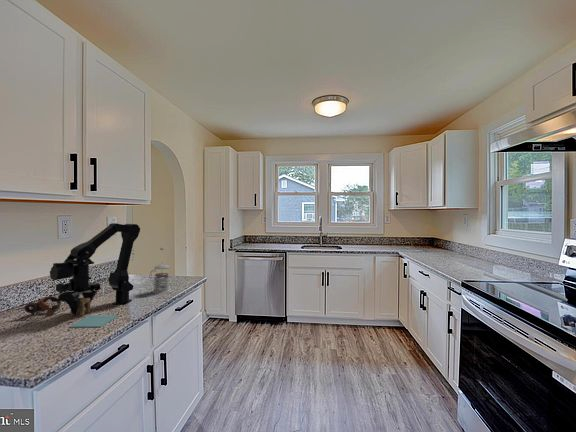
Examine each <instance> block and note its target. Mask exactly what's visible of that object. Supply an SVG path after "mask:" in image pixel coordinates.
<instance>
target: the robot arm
mask: <svg viewBox="0 0 576 432" xmlns="http://www.w3.org/2000/svg"><path fill="white" fill-rule="evenodd" d="M117 233H120V236H121V239H122V242H121V247H120V251H119V255H118V260H117V263H116V268H115V270H114V271H112V272H110V273H109V277H108V280H107V281H108V285H109V286H110V287H111V289H112V290H113V291H115V301H114V302H112V305H127V304H129V303H130V302H132V301H133V299H131V298H130V291H133V289H134V284H132V283H131V282H130V274H129V272H128V268H129V264H130V259H131V255H132V251H133V248H134V247H133V246H134V243H135V241H136V240H137V239H138V237H139V235H140V233H141V227H140V225H138V224H137V223H124V224H121V223H117V222H113V223H110V224H109V225H107V227H105V228H104V229H102V230H101V231H100V232H98V233H97V234H96V235H95V236H93V237H92V238H91V239H89V240H87V241H85V242H83V243H80V244H78V245H76V246H74V247H72V249H70V254H69V255H68V256H67V257H66V259H65V260H64V261H63V262H54V263H53V264H52V267H51V268H50V271H49V276H50V279H51V280H52V281H58V280H64V279H69V278H70V279H69V282H67V283H64V282H61V283H57V284H56V285H55V291H56V292H59V295H58V296H57V298H58V301H61V302H64V303H66V304H67V305H68V306H69V309H70V312H71V311H72V314H75V315H77V310H78V307H79V303H80V300H81V298H82V297H80V295H82V296H83V298H90V304H91V303H92V301H93V299H94V298H95V296H96V294H97V293H98V291H100V290H101V284H100V283H98V282H97V283H96V282H95V283H94V282H93V283H92V282H89V281H90V280H92V276H90V265H94V264H95V261H92V260H91V257H93V255H94V254H95V253H96V250H97V249H98V248H99V247H100V246H102V245H103V244H104V243H106V241H108V240H110V238H112V237H113V236H114V235H116V234H117ZM85 309H86V303H85Z"/></svg>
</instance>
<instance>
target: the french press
mask: <svg viewBox="0 0 576 432" xmlns="http://www.w3.org/2000/svg"><path fill="white" fill-rule="evenodd" d="M159 249H160V251H163V250H164V247H160V248H159ZM169 268H170V266H169V265H167V264H163V263H161V264H157V265H156V266H154V267H153V269H152V270H151V271H150V272H149V277H148V278H149V280H150V281H152V280H153V281H152V283H153V290H152V292H153V293H152V294H165V293H169V292H171V289H170V276H169V273H168V272H164V273H163V272H159V273H158V272H157V270H166V269H167V270H168V269H169ZM153 272H154V273H155V274H154V278H153V277H152V276H151V275H152V274H153Z"/></svg>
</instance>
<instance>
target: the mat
mask: <svg viewBox="0 0 576 432" xmlns="http://www.w3.org/2000/svg"><path fill="white" fill-rule="evenodd" d="M118 317H119V316H118V314H117V315H115V314H113V315H111V314H109V315H108V314H107V315H106V314H105V315H104V314H103V315H101V314H100V315H99V314H97V315H95V314H93V315H89V314H88V315H87V316H86V317H85V316H84V318H81V319H80V320H78V321H76V322H75V323H72V324H71V325H69V328H102V327H104V326H106V325H107V324H108V323H110V322H111V321H113V320H115V319H116V318H118Z"/></svg>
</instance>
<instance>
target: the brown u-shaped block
mask: <svg viewBox="0 0 576 432" xmlns="http://www.w3.org/2000/svg"><path fill="white" fill-rule="evenodd" d="M80 298H81V300H80V303H79V307H78V310H77V313H76V314H72V311H71V310H70V317H72V318H74V317H76V315H77V314H79V318H81V317H85V314H87V315H89V314H90V313H91V303H90V298H84V297H80ZM85 303H86V308H85Z"/></svg>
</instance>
